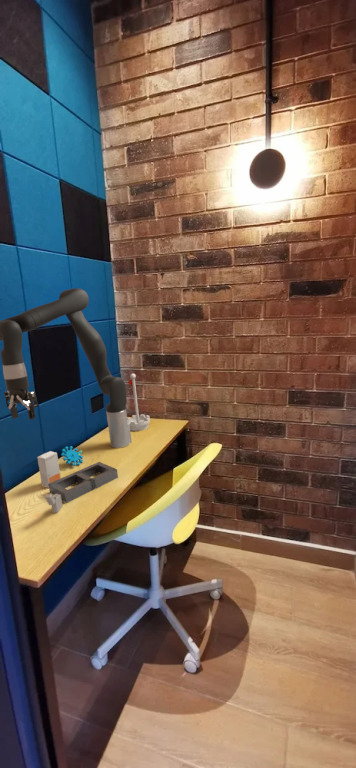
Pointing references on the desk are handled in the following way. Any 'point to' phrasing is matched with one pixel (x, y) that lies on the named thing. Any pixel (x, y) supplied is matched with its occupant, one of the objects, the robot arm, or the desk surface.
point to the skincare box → (49, 468)
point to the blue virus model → (72, 456)
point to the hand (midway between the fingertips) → (23, 418)
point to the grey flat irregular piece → (54, 502)
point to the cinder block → (83, 481)
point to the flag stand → (137, 421)
